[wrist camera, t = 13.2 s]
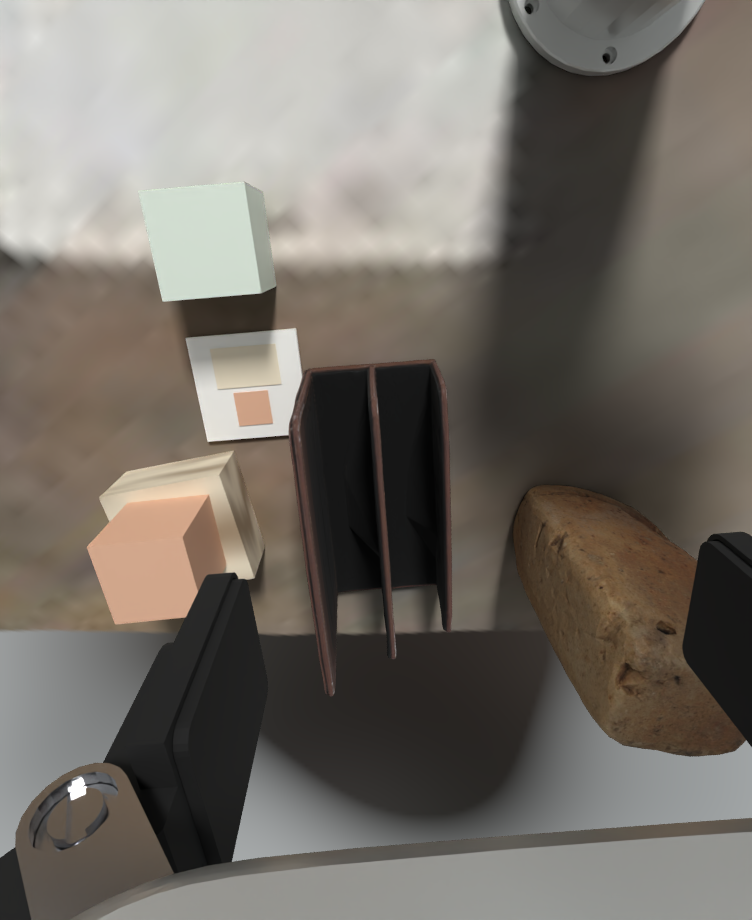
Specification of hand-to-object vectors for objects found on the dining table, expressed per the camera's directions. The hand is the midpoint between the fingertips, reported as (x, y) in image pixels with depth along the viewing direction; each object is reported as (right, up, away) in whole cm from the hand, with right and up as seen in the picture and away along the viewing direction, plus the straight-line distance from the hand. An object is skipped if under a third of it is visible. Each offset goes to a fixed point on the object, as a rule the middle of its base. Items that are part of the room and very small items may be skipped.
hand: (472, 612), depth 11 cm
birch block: (-17, -1, +33) cm, 37 cm away
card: (-11, +9, +29) cm, 32 cm away
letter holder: (-2, +1, +33) cm, 33 cm away
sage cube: (-12, +18, +25) cm, 33 cm away
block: (+15, -2, +34) cm, 37 cm away
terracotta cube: (-17, -2, +28) cm, 33 cm away
